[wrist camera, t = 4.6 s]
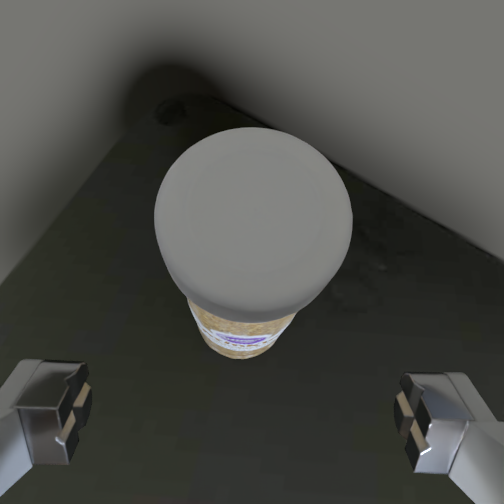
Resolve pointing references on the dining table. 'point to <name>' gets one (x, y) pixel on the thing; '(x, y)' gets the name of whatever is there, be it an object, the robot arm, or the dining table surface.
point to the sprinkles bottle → (251, 233)
